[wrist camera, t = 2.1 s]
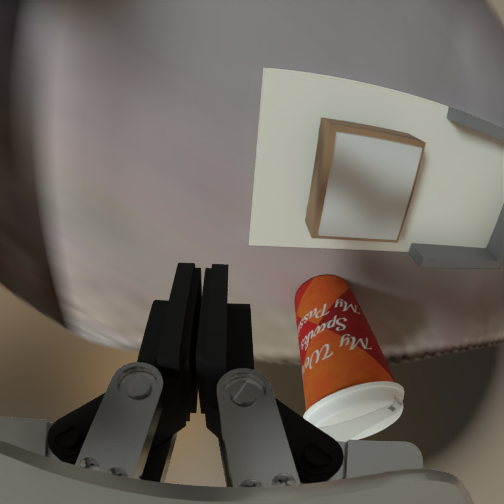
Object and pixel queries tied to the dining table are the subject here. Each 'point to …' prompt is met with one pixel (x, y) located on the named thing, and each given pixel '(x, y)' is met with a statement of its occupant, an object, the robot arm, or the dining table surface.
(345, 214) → the white wood-edged tile
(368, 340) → the paper cup
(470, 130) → the dock bay
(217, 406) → the robot arm
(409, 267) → the dining table surface
